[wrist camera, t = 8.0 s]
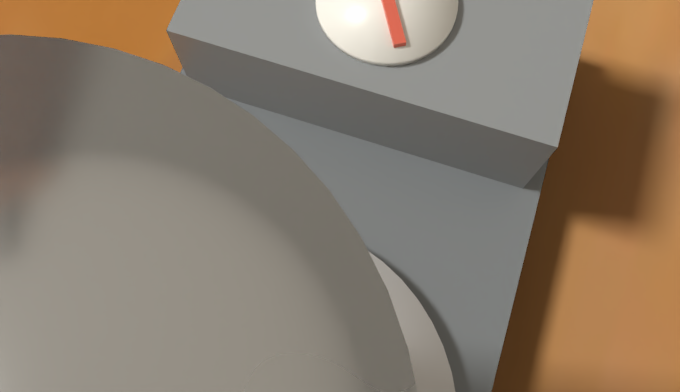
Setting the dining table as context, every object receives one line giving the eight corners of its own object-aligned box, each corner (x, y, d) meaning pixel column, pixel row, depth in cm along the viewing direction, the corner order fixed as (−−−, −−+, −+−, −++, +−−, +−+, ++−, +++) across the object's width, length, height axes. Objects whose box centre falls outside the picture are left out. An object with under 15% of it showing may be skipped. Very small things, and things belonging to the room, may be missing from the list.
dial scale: (383, 770, 15) (404, 929, 10) (-36, 602, 16) (-185, 680, 12) (563, 57, 21) (627, -41, 16) (248, -33, 22) (226, -150, 18)
